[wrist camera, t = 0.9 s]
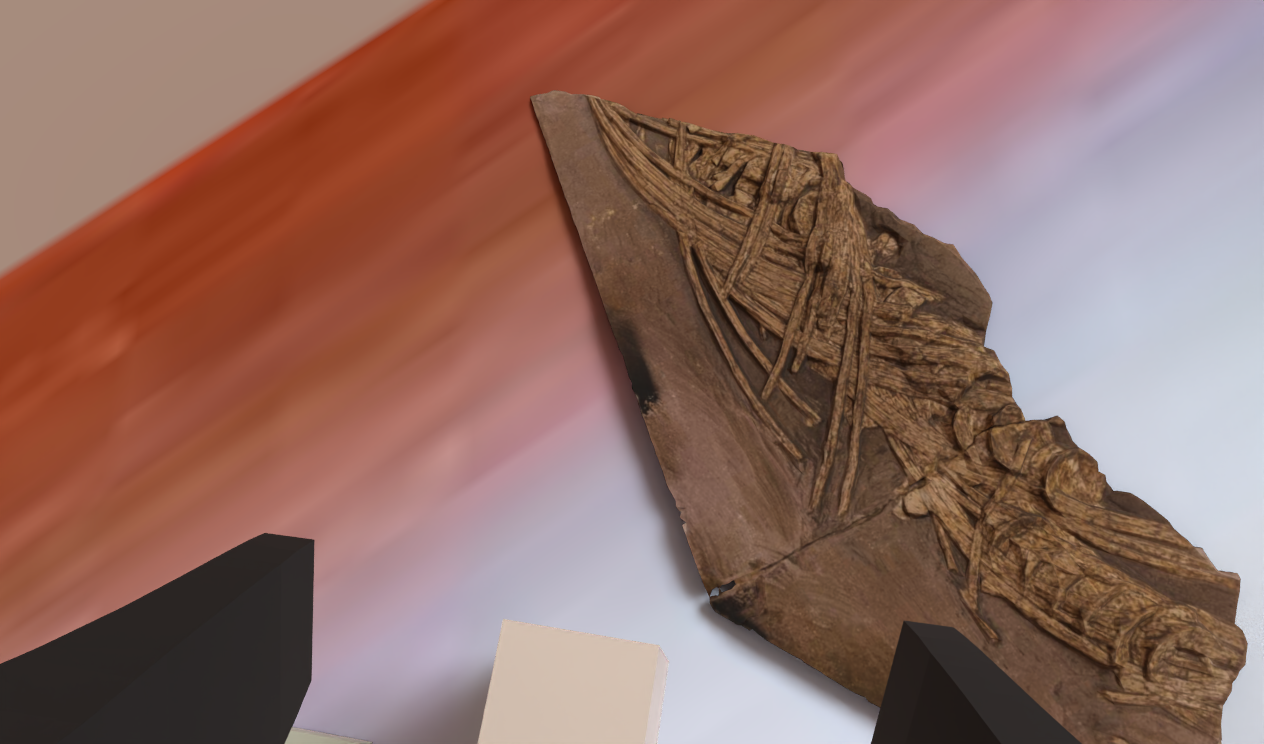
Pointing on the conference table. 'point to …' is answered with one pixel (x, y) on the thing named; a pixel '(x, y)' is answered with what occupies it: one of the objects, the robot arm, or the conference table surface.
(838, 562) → the wooden fragment
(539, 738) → the beige rectangular block
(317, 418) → the conference table surface
